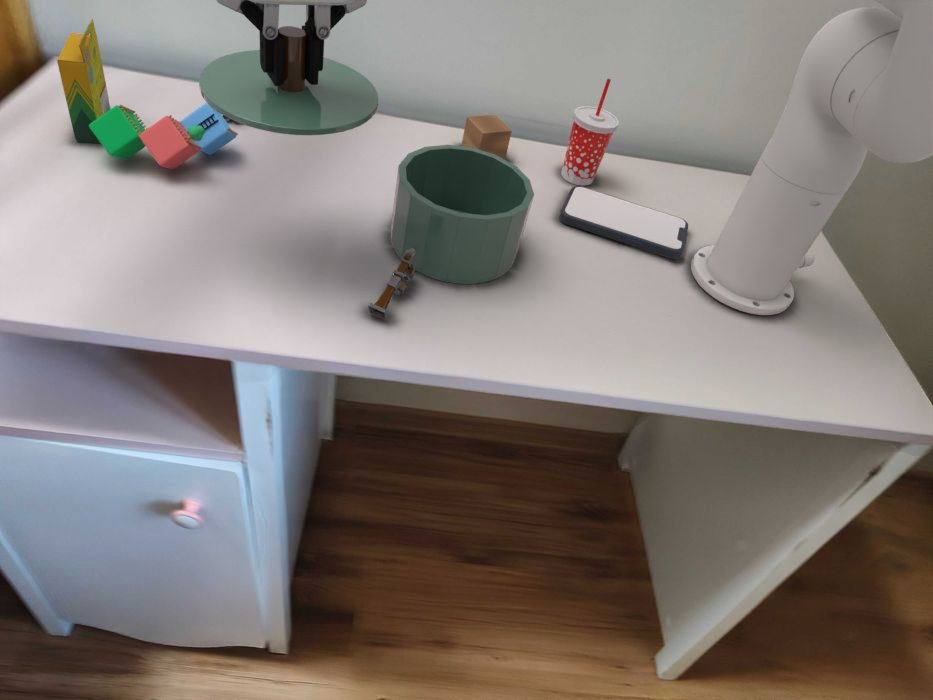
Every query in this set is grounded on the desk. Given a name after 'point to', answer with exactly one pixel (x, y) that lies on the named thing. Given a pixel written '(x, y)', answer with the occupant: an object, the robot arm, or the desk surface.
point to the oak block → (487, 135)
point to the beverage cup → (588, 142)
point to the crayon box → (83, 82)
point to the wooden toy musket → (394, 285)
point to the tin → (459, 213)
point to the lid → (288, 92)
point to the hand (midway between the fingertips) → (291, 77)
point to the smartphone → (625, 222)
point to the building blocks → (162, 135)
